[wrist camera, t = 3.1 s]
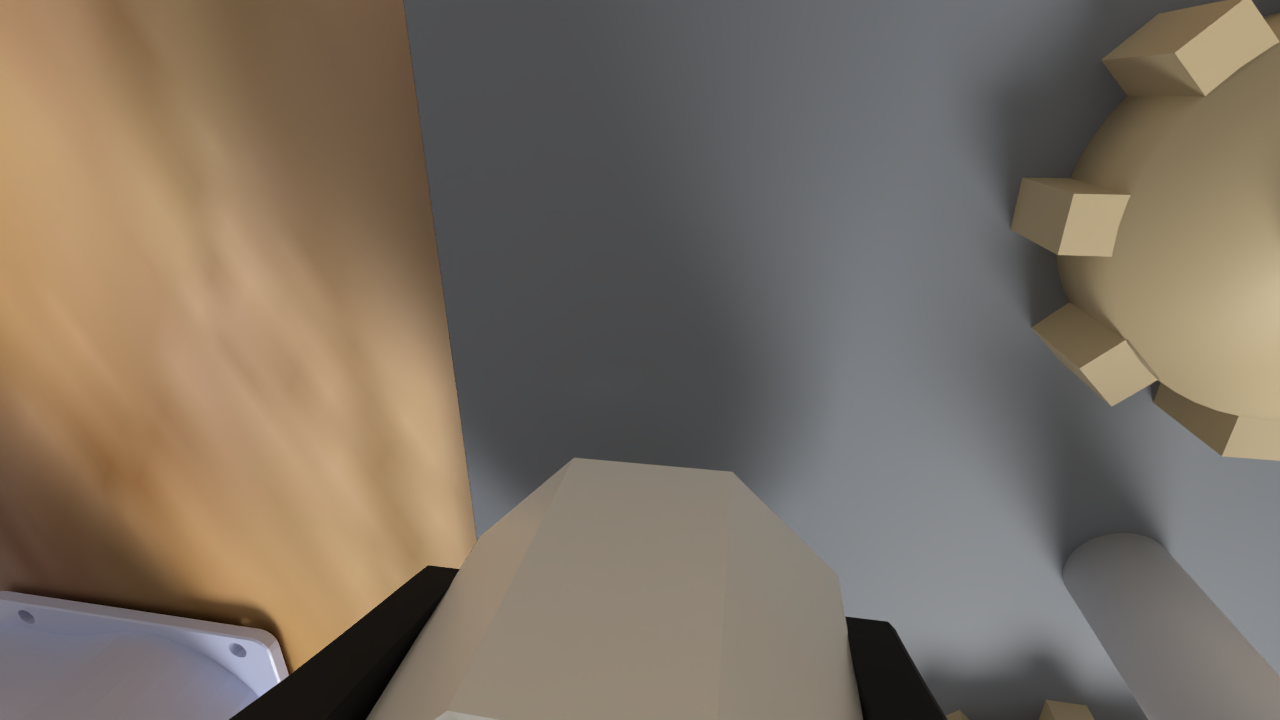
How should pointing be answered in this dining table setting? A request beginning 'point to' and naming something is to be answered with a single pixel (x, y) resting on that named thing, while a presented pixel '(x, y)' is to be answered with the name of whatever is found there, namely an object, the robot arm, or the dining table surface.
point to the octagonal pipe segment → (633, 610)
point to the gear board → (898, 308)
